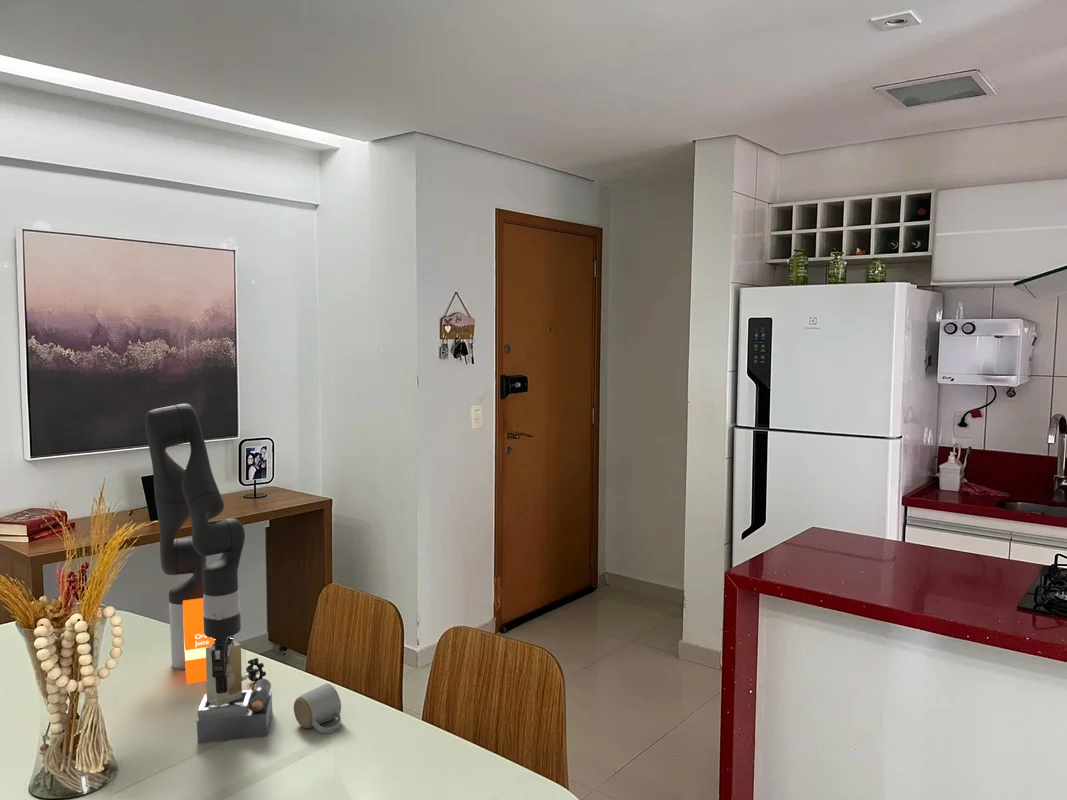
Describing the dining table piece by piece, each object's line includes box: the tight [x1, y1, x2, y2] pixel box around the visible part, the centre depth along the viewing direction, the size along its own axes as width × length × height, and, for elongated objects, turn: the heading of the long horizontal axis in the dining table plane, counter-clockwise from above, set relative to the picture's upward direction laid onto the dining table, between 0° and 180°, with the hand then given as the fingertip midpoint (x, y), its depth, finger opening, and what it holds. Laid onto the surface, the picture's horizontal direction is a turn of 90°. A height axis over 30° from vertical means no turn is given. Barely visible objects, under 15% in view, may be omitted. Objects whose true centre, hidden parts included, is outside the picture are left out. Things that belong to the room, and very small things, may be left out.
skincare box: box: [205, 640, 243, 707], centre depth 178 cm, size 6×4×12 cm
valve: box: [241, 657, 267, 686], centre depth 197 cm, size 7×7×12 cm
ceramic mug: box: [293, 683, 342, 734], centre depth 180 cm, size 11×8×8 cm
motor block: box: [196, 678, 273, 744], centre depth 179 cm, size 11×14×9 cm
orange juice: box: [183, 598, 215, 685], centre depth 206 cm, size 8×9×20 cm
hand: (224, 684), depth 178 cm, fingers closed on skincare box, 7 cm apart
